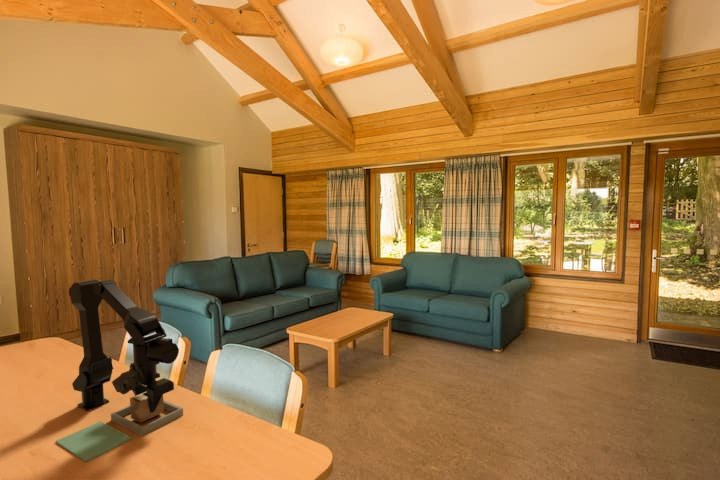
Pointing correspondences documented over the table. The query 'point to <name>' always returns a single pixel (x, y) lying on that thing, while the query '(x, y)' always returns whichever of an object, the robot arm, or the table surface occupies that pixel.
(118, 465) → the table surface
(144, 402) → the walnut block
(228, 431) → the table surface
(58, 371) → the table surface
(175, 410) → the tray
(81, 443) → the mat
